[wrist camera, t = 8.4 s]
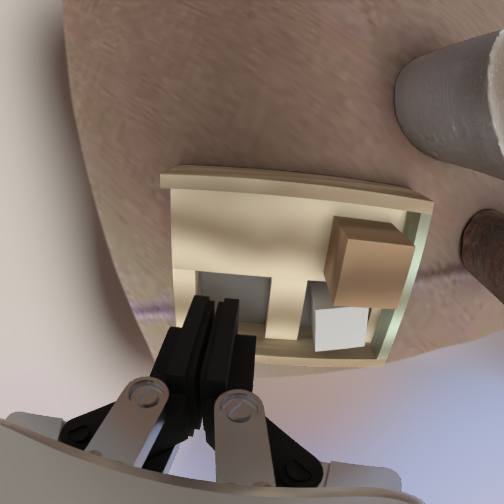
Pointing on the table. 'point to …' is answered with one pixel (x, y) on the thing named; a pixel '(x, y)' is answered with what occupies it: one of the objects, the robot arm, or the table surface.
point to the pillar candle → (457, 103)
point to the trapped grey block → (335, 321)
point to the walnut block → (367, 263)
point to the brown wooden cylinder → (486, 250)
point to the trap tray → (281, 251)
